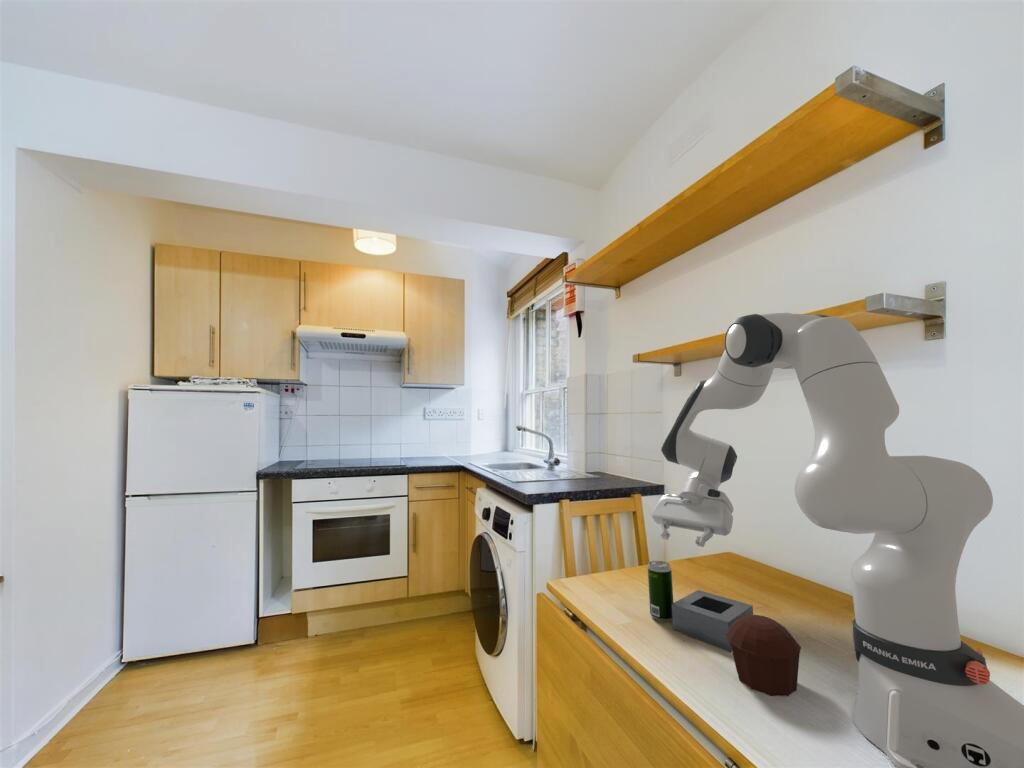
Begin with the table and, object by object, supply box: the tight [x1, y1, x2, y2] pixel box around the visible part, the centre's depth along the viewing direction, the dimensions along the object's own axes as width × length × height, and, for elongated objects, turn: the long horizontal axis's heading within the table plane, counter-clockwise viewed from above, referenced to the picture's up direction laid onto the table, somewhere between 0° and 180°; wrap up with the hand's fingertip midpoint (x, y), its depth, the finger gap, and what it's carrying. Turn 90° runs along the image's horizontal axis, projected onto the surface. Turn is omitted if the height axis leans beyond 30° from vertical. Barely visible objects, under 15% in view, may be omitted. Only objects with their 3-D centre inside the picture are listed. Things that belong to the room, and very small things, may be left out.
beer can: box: [647, 560, 674, 623], centre depth 97 cm, size 5×5×12 cm
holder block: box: [672, 589, 754, 653], centre depth 90 cm, size 12×12×6 cm
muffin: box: [726, 614, 802, 697], centre depth 72 cm, size 12×11×10 cm
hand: (681, 541), depth 105 cm, fingers open, 8 cm apart
